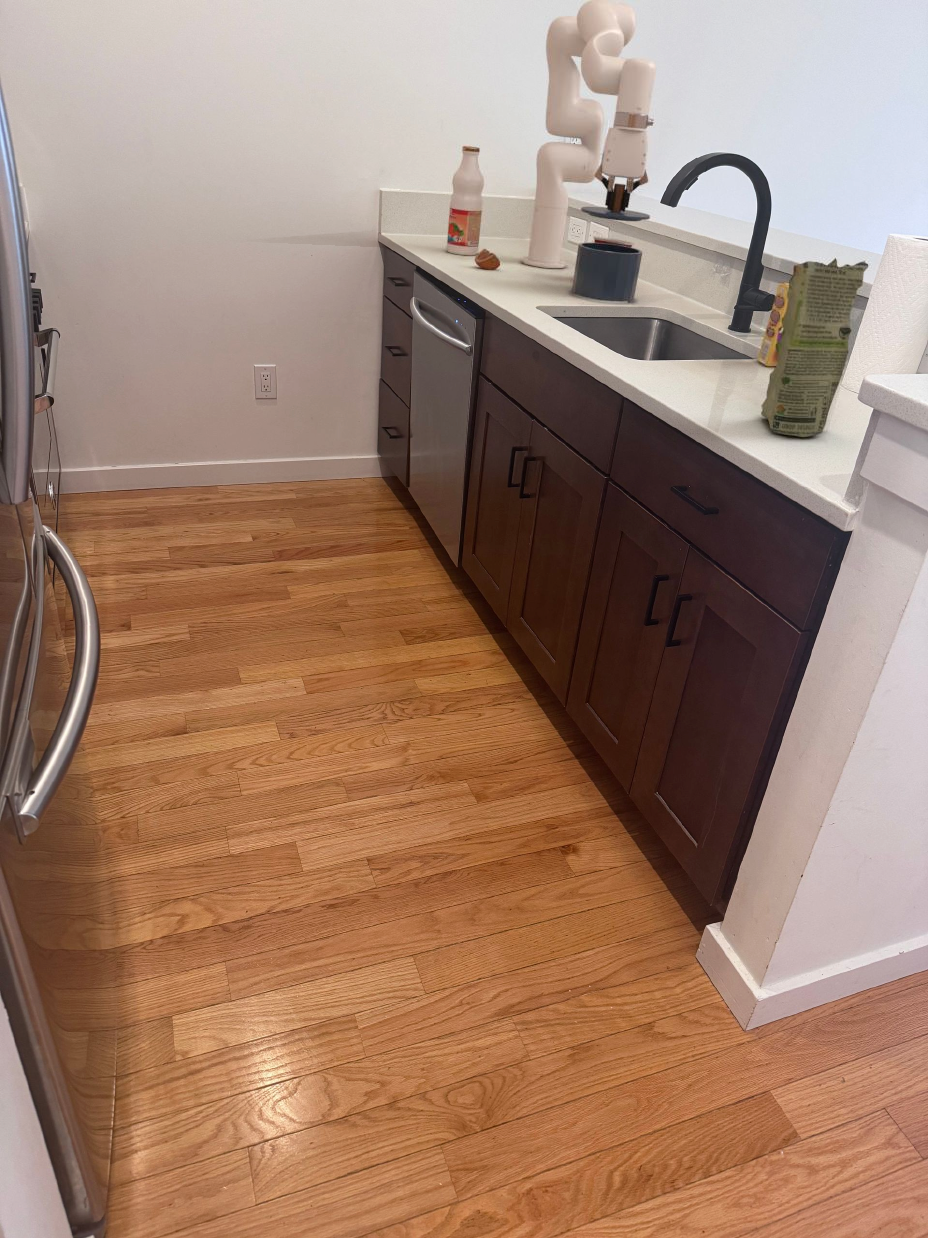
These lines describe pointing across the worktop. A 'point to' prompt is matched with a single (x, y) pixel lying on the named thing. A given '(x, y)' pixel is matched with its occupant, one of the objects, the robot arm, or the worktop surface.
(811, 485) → the worktop surface
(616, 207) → the lid
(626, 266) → the pot
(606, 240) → the plastic cup
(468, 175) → the fruit juice
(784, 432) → the pouch
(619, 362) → the worktop surface
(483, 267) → the fruit slice
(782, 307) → the candy box
